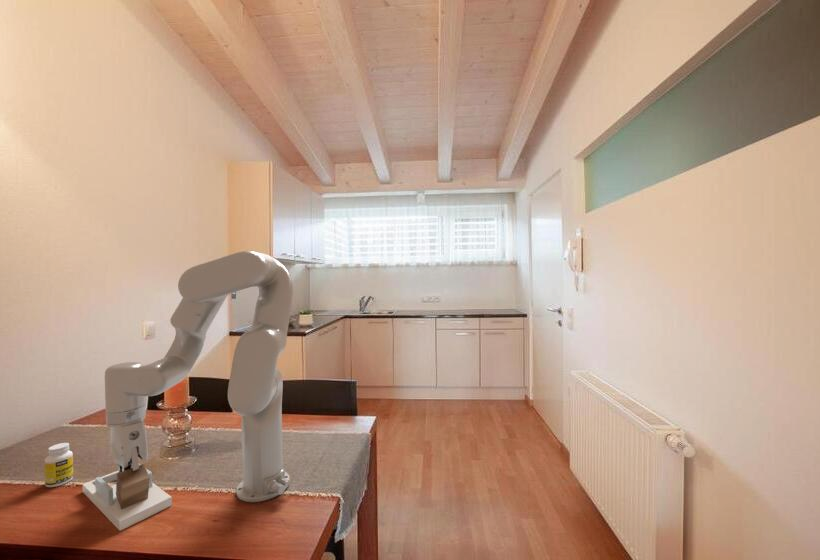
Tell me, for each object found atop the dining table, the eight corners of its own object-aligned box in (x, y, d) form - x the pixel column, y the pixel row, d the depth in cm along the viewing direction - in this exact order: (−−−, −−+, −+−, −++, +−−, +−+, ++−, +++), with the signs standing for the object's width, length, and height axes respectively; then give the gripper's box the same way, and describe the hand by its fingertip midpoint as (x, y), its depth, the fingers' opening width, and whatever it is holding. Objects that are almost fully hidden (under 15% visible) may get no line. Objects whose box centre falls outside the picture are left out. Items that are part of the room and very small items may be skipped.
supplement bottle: (55, 489, 92) (54, 451, 92) (39, 487, 93) (38, 450, 93) (79, 477, 97) (77, 442, 97) (63, 475, 98) (62, 440, 98)
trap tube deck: (172, 505, 84) (171, 482, 84) (119, 530, 76) (119, 505, 75) (130, 473, 98) (129, 453, 98) (82, 491, 90) (82, 470, 90)
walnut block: (147, 498, 83) (149, 477, 82) (121, 509, 80) (122, 487, 78) (141, 484, 86) (143, 463, 85) (115, 494, 83) (117, 473, 81)
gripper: (157, 415, 84) (159, 491, 84) (133, 404, 93) (135, 473, 93) (117, 427, 78) (120, 509, 78) (96, 413, 86) (98, 487, 87)
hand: (128, 489), depth 86 cm, fingers closed
